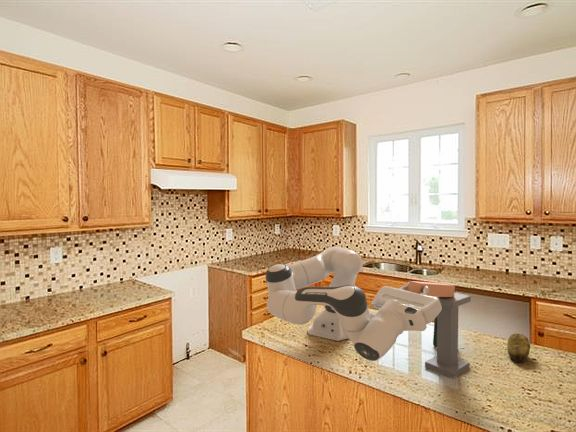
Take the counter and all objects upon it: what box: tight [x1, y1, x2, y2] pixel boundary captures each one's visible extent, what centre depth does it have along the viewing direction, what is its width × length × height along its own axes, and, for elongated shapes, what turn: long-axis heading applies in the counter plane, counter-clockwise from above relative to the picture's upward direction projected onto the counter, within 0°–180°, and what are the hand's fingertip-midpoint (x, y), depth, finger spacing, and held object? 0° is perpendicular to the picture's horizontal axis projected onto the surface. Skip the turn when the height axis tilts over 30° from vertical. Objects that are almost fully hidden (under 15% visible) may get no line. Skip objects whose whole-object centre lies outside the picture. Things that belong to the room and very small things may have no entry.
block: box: [408, 280, 456, 297], centre depth 112 cm, size 22×4×4 cm, turn 127°
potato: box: [506, 333, 531, 363], centre depth 127 cm, size 8×13×8 cm, turn 129°
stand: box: [424, 292, 472, 379], centre depth 119 cm, size 12×10×26 cm
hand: (418, 286), depth 107 cm, fingers closed on block, 4 cm apart
